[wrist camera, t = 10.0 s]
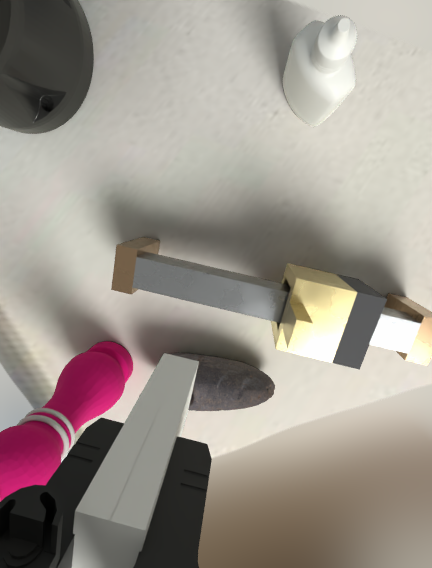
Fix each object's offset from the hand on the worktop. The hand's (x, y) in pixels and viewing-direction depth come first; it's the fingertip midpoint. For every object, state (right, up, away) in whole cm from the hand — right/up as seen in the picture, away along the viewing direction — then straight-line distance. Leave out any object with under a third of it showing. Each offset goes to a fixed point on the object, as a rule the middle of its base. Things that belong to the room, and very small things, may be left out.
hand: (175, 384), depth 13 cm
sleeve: (+11, +3, +19) cm, 22 cm away
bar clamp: (+7, +4, +21) cm, 23 cm away
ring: (+14, +2, +19) cm, 24 cm away
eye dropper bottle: (+10, +22, +16) cm, 29 cm away
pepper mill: (-12, -6, +26) cm, 30 cm away
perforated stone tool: (+1, -6, +25) cm, 26 cm away
